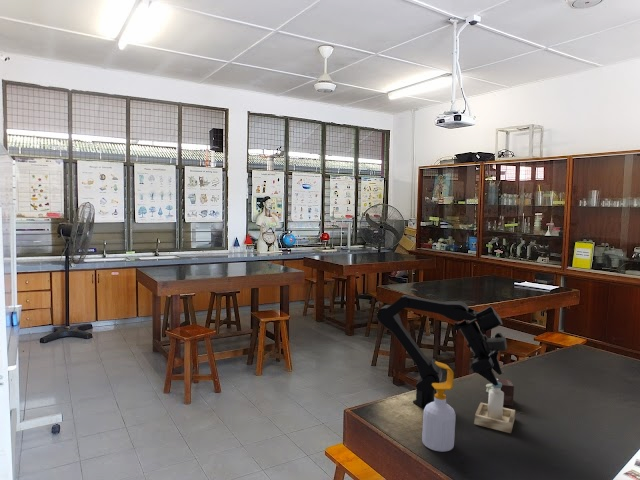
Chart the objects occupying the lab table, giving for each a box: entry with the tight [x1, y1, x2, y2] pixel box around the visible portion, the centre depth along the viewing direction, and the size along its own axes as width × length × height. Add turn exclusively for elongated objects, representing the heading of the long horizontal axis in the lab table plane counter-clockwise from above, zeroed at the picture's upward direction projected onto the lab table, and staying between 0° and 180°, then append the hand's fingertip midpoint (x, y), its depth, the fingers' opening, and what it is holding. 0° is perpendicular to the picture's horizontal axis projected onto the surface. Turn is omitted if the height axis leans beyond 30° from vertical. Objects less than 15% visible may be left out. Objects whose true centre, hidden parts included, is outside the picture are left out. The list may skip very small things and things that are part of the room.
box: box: [496, 378, 515, 406], centre depth 163 cm, size 6×6×7 cm
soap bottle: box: [421, 360, 457, 453], centre depth 132 cm, size 9×9×25 cm
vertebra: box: [485, 383, 493, 393], centre depth 169 cm, size 6×7×4 cm
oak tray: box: [473, 402, 516, 434], centre depth 148 cm, size 11×11×3 cm
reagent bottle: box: [487, 381, 504, 420], centre depth 147 cm, size 5×5×12 cm
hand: (498, 379), depth 148 cm, fingers open, 9 cm apart
